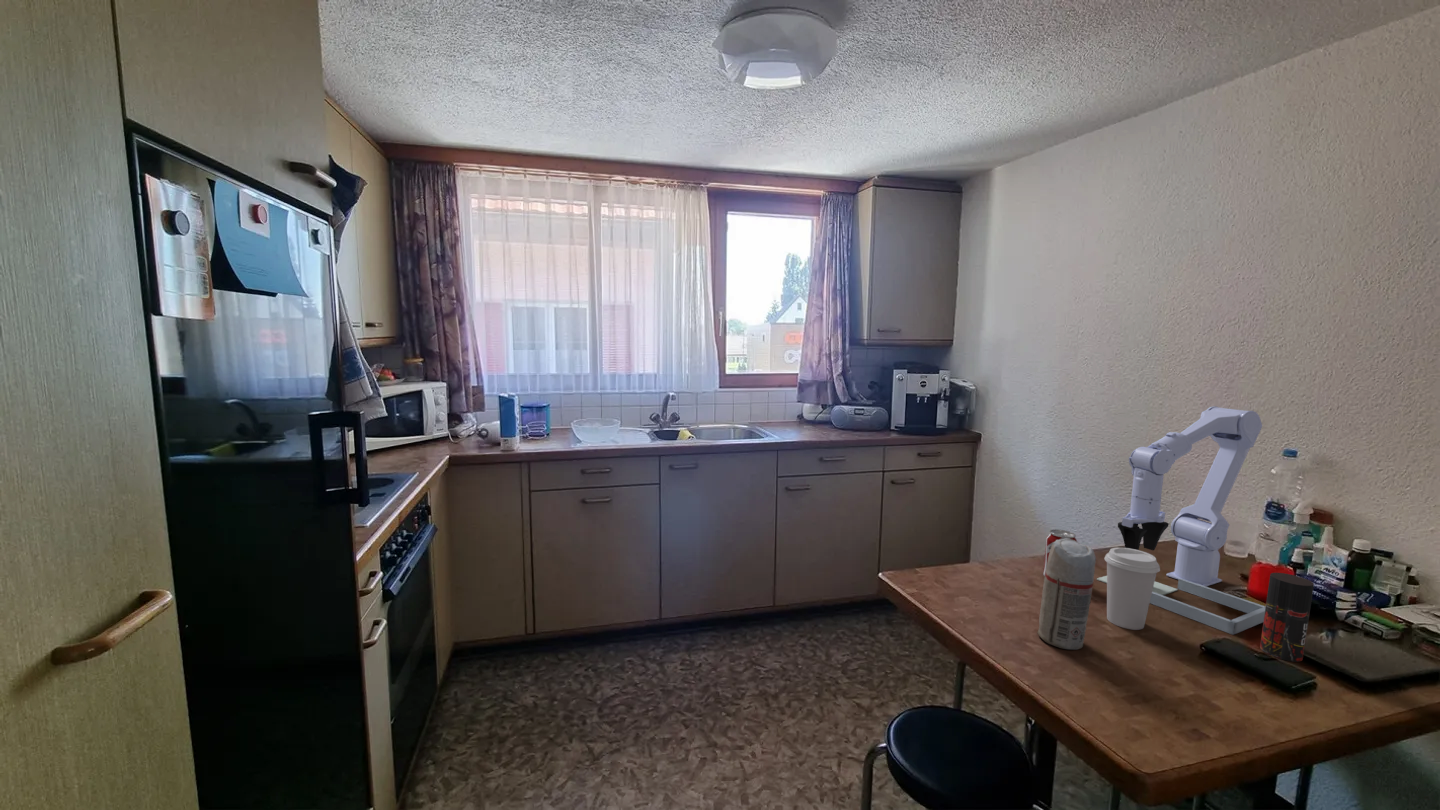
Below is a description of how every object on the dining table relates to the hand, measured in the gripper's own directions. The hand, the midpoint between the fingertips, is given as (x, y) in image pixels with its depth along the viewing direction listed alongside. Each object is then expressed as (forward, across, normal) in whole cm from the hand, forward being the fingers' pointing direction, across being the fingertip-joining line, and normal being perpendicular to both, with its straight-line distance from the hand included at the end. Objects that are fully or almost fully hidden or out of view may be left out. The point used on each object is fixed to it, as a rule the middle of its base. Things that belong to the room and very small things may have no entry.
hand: (1140, 551), depth 141 cm
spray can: (+8, -43, -9) cm, 45 cm away
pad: (+9, 0, 0) cm, 9 cm away
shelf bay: (+9, 0, -14) cm, 16 cm away
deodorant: (+9, -8, -30) cm, 32 cm away
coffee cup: (+9, -23, -10) cm, 27 cm away
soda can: (+9, -15, +10) cm, 20 cm away
